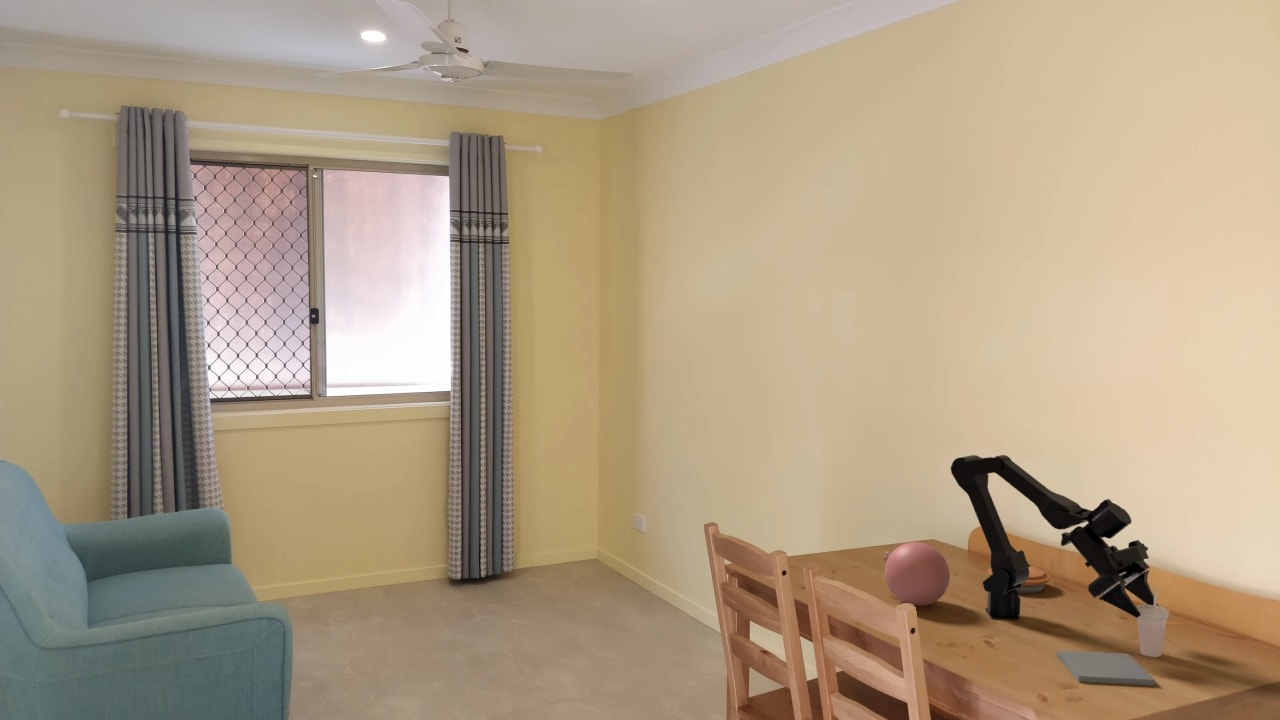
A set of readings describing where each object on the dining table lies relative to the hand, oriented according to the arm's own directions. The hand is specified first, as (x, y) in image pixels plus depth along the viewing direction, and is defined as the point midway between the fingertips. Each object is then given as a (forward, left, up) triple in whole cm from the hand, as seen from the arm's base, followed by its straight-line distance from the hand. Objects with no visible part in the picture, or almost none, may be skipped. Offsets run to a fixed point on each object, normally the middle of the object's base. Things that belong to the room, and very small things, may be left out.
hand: (1147, 611), depth 199 cm
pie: (-14, +46, -9) cm, 50 cm away
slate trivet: (-12, -12, -9) cm, 19 cm away
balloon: (-44, +29, -9) cm, 54 cm away
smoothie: (+1, -1, -9) cm, 9 cm away
